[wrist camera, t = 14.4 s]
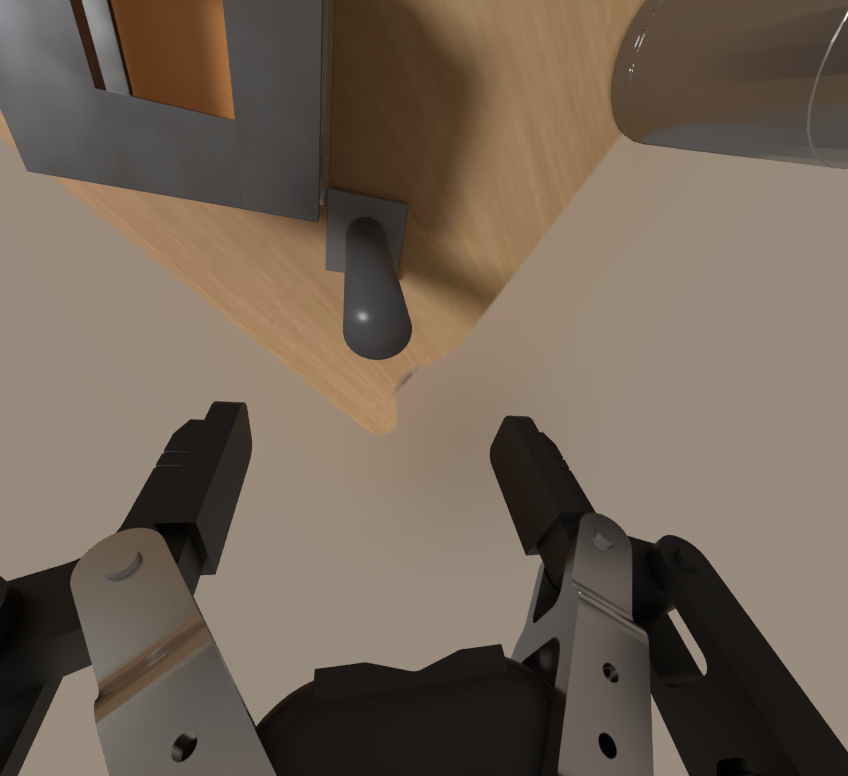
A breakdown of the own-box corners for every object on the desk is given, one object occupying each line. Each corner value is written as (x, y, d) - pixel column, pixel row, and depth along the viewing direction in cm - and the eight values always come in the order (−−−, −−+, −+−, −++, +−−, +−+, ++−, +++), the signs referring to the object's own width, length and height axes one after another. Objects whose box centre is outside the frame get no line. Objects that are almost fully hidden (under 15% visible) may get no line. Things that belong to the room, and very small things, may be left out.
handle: (388, 221, 27) (417, 304, 15) (383, 261, 29) (405, 362, 17) (347, 213, 26) (345, 294, 15) (344, 255, 28) (340, 357, 16)
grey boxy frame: (336, -67, 18) (325, -193, 10) (328, 187, 25) (318, 222, 18) (58, -175, 15) (-245, -463, 7) (138, 149, 22) (27, 171, 15)
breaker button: (270, -7, 18) (249, -36, 14) (276, 124, 21) (260, 127, 18) (147, -47, 17) (89, -91, 13) (174, 99, 20) (134, 97, 16)
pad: (407, 203, 27) (408, 205, 26) (395, 277, 30) (396, 279, 30) (328, 187, 25) (328, 189, 25) (326, 267, 29) (325, 269, 28)
